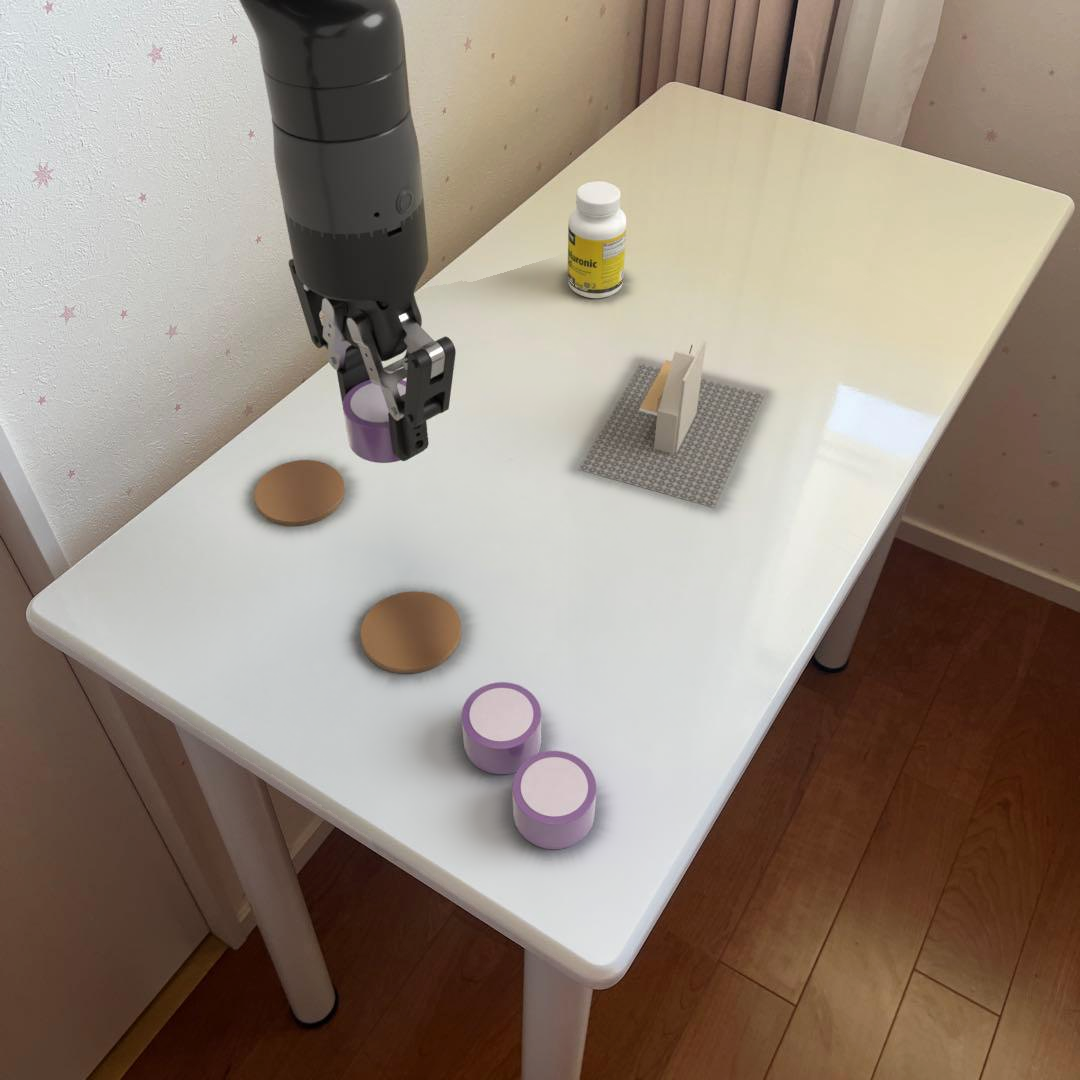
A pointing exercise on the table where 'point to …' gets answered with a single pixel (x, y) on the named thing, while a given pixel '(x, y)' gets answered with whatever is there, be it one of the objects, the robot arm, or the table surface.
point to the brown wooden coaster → (410, 632)
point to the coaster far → (299, 492)
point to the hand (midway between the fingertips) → (385, 430)
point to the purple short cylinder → (369, 422)
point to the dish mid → (501, 727)
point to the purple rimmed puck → (554, 799)
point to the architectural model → (675, 431)
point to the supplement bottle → (596, 241)
